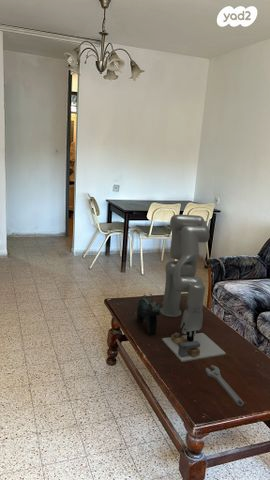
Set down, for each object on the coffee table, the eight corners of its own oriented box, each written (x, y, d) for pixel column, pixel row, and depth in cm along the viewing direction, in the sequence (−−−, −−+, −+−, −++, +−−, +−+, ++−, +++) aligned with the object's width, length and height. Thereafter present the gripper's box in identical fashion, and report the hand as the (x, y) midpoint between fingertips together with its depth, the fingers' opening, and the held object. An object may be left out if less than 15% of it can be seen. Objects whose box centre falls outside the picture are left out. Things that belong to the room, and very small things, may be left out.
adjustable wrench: (244, 407, 138) (245, 403, 137) (229, 409, 136) (230, 405, 136) (215, 368, 161) (216, 364, 161) (202, 369, 160) (203, 365, 159)
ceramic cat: (158, 336, 184) (162, 300, 179) (147, 337, 182) (151, 301, 177) (143, 318, 202) (146, 285, 197) (133, 319, 200) (136, 286, 195)
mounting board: (162, 339, 181) (163, 328, 179) (202, 334, 190) (204, 323, 189) (181, 362, 163) (183, 349, 162) (225, 354, 172) (227, 342, 171)
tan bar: (170, 339, 180) (171, 332, 179) (177, 337, 182) (178, 331, 182) (192, 356, 166) (193, 350, 165) (199, 354, 168) (200, 348, 167)
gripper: (201, 302, 179) (196, 335, 184) (176, 307, 171) (172, 341, 176) (211, 308, 173) (206, 343, 177) (186, 313, 165) (182, 349, 170)
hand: (189, 342), depth 177 cm, fingers closed
